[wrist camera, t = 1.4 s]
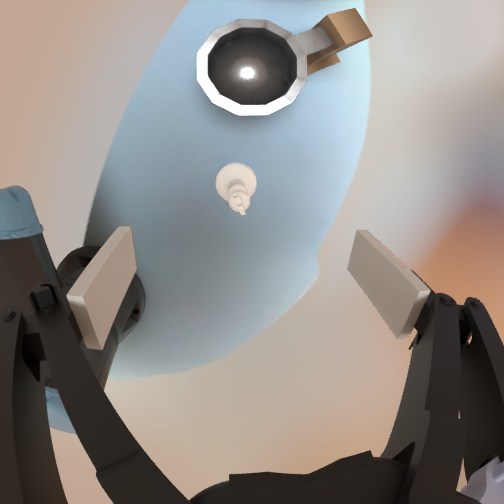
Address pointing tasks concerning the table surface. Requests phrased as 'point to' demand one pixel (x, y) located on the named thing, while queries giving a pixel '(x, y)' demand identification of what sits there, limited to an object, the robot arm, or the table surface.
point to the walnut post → (338, 37)
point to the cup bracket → (256, 65)
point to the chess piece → (236, 185)
